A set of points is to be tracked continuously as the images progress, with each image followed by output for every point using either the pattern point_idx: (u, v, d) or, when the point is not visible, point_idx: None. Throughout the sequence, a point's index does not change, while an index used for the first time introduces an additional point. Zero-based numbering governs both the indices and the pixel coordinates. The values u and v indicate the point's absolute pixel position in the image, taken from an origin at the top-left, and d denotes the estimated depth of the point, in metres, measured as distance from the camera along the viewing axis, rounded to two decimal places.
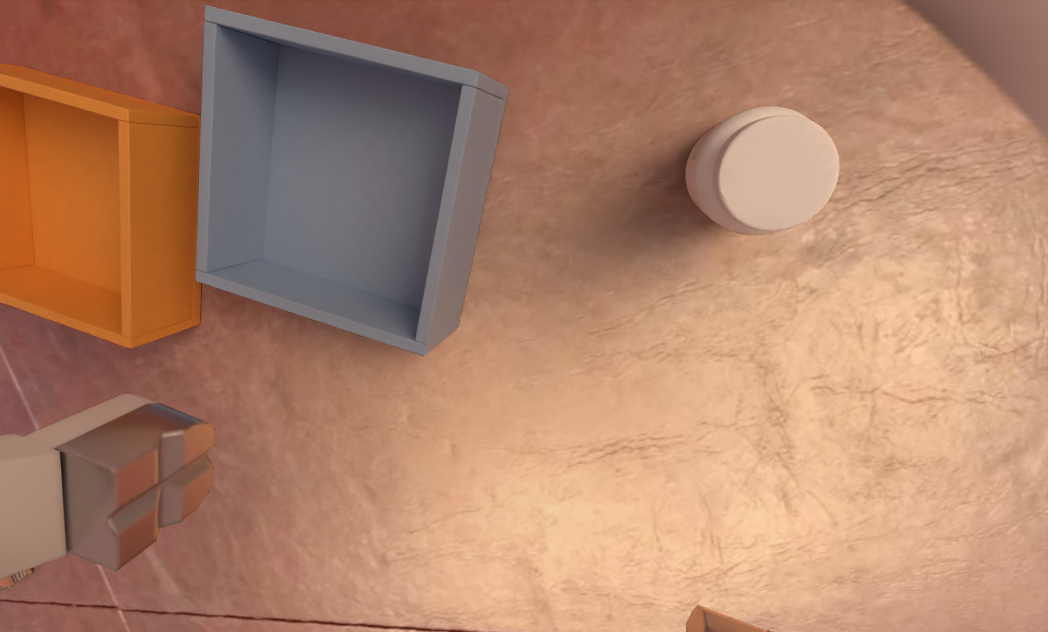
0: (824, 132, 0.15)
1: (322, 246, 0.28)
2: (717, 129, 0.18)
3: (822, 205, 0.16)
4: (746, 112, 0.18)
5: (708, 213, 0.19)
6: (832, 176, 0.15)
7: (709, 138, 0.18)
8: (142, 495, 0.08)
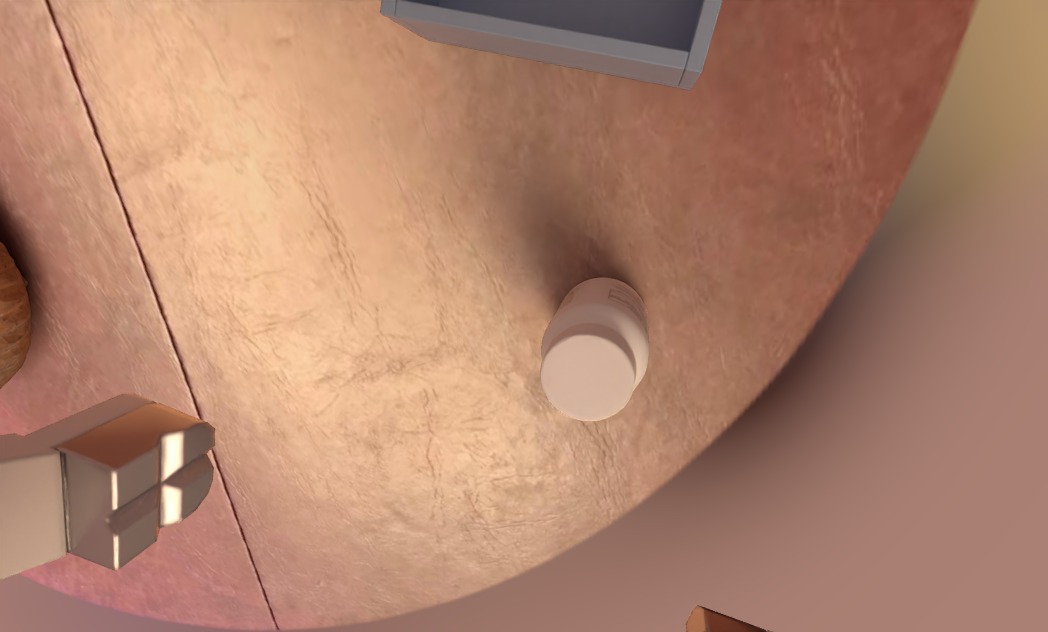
0: (619, 409, 0.19)
1: None
2: (630, 318, 0.20)
3: (562, 412, 0.19)
4: (643, 341, 0.20)
5: (557, 316, 0.21)
6: (585, 417, 0.19)
7: (623, 312, 0.20)
8: (140, 496, 0.08)
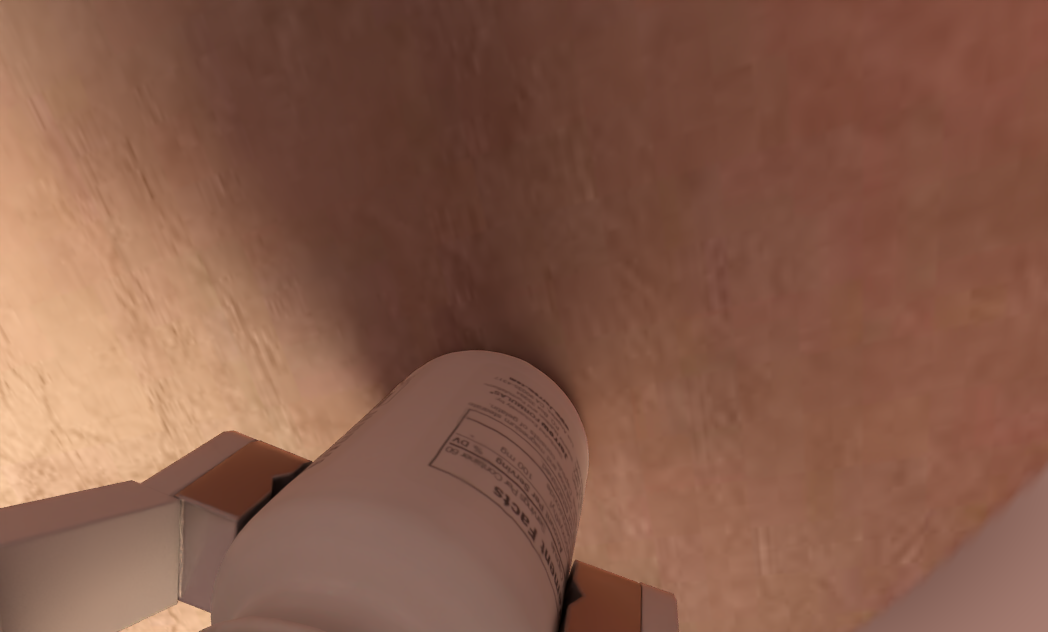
0: None
1: None
2: (478, 568, 0.06)
3: None
4: None
5: (248, 526, 0.06)
6: None
7: (452, 545, 0.06)
8: None
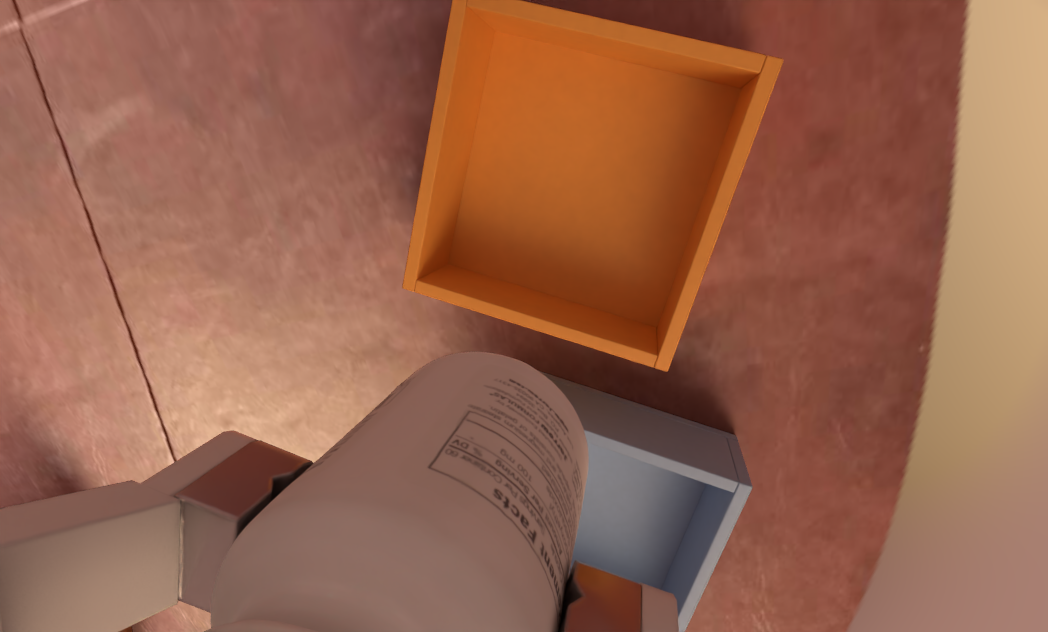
0: None
1: None
2: (478, 571, 0.06)
3: None
4: None
5: (247, 529, 0.06)
6: None
7: (452, 547, 0.06)
8: None
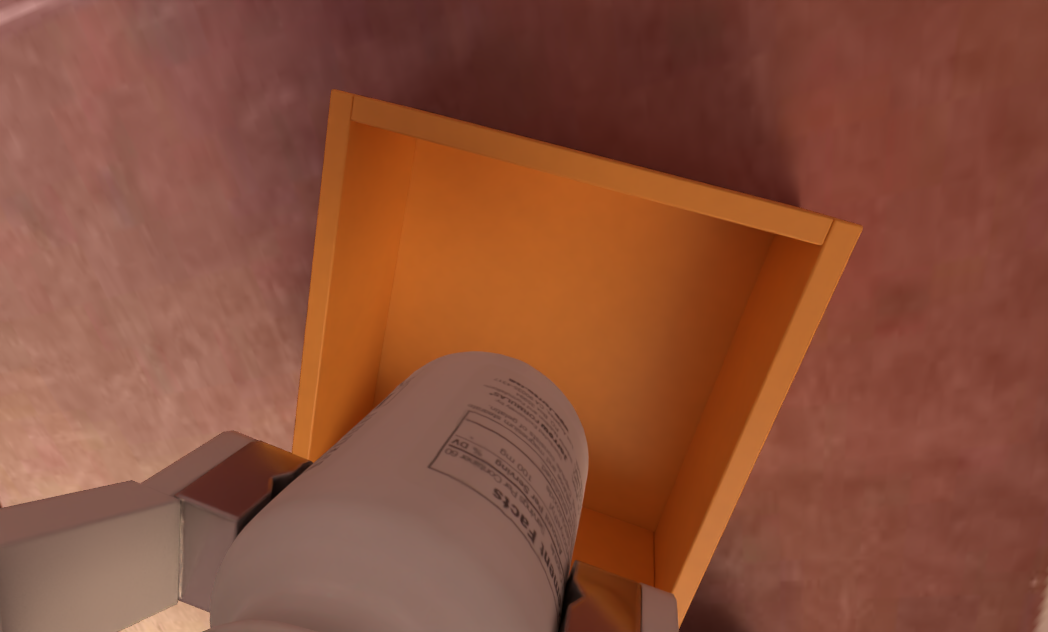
0: None
1: None
2: (478, 570, 0.06)
3: None
4: None
5: (247, 528, 0.06)
6: None
7: (451, 547, 0.06)
8: None
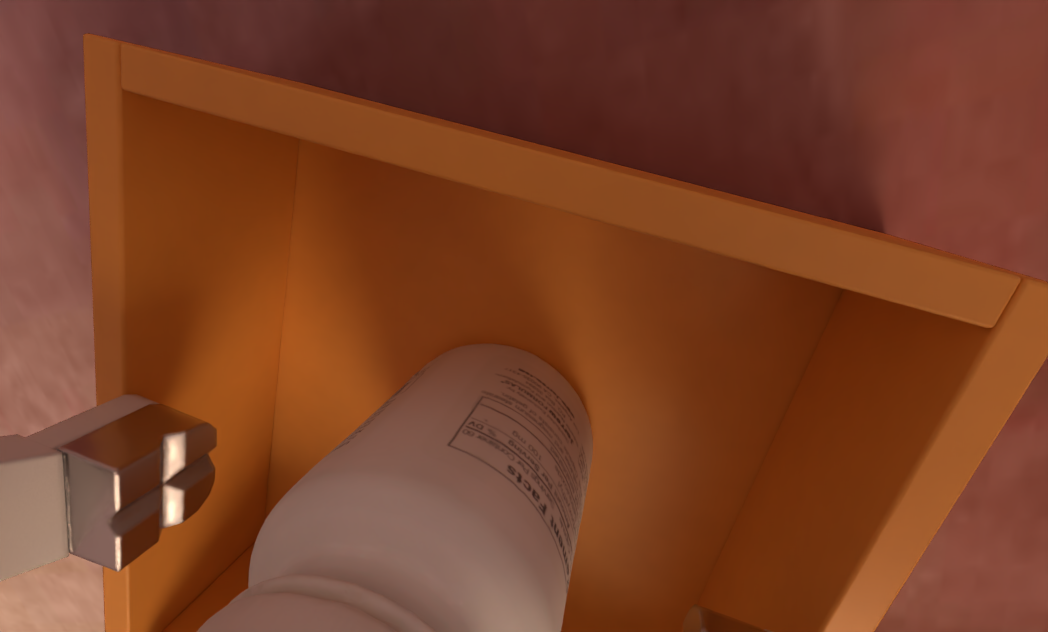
0: None
1: None
2: (495, 535, 0.06)
3: None
4: (537, 608, 0.06)
5: (284, 500, 0.07)
6: None
7: (472, 514, 0.06)
8: (143, 496, 0.08)
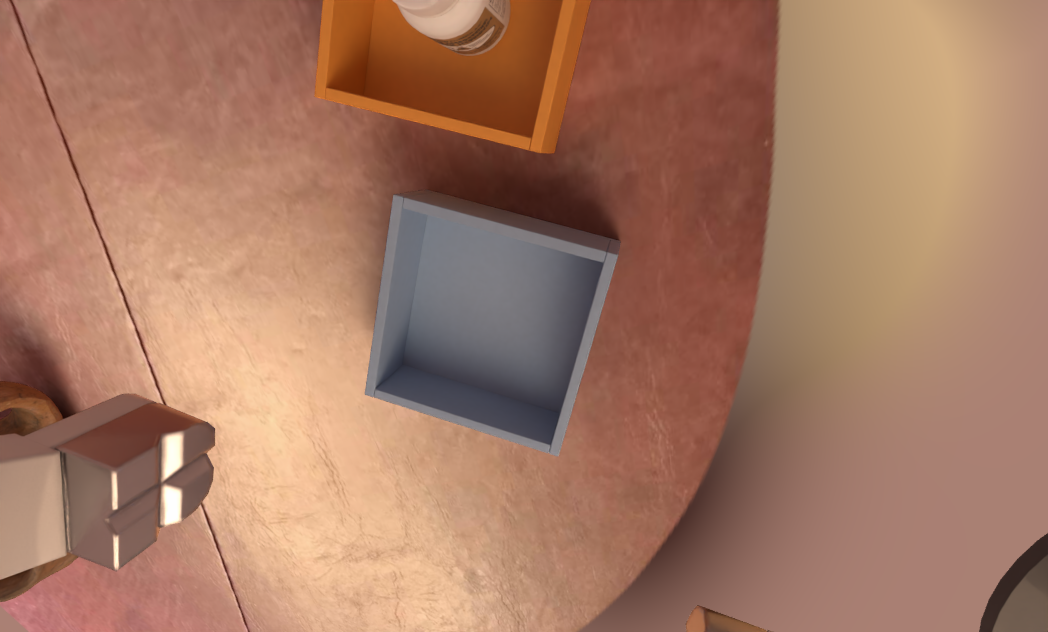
0: None
1: (446, 264, 0.32)
2: None
3: (396, 2, 0.21)
4: None
5: None
6: (416, 4, 0.21)
7: None
8: (142, 495, 0.08)
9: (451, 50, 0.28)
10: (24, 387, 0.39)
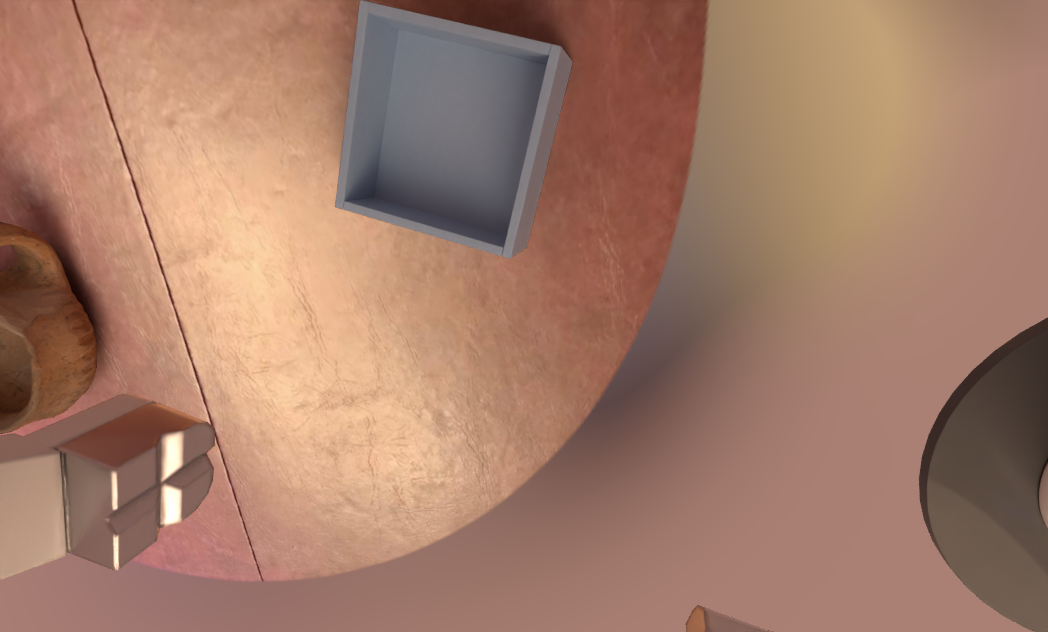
0: None
1: (413, 92, 0.35)
2: None
3: None
4: None
5: None
6: None
7: None
8: (140, 496, 0.08)
9: None
10: (28, 231, 0.42)
